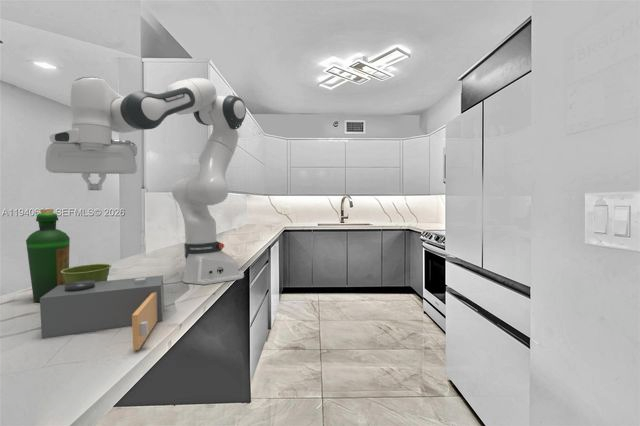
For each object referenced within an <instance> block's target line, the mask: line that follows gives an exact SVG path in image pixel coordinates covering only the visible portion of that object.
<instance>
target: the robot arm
mask: <svg viewBox="0 0 640 426" xmlns="http://www.w3.org/2000/svg"><path fill="white" fill-rule="evenodd" d="M70 88H71V90H70V111H71V113H72V117H73V118H72V123H71V129H66V130H62V131H58V132H54V133H51V134H49V141H50V142H51V144H49V145H48V146H47V147H46V152H45V170H47V171H48V172H49V173H52V174H81V176H82V179H83V181H85V183H86V184H87V191H102V190H103V183H104V182H105V180H106V179H107V175H109V174H111V175H114V174H115V175H116V174H117V175H118V174H119V175H134V174H136V173H137V172H138V168H137V167H138V165H137V161H136V157H137V154H138V147H137V145H136V144H135V143H134V142H132V141H131V140H119V139H113V132H116V133H120V134H124V133H125V134H126V133H133V132H136V131H143V130H144V131H145V130H154V129H155V128H157V127H158V126H160V125H161V124H162V122H163V121H164V120H165V119H166V118H167V117H169V116H171V115H173V114H177V115H188V114H189V115H190V114H193V117H194V118H195V120H196V122H198V123H199V124H200V125H204V126H212V133H211V134H210V136H209V137H208V139H207V141H206V142H205V145H204V146H203V148H202V151H201V153H200V154H199V156H198V163H199V165H200V168H199V172H198V174H197V175H196V176H189V177H188V176H187V177H184V178H182V179H180V180H177V181H176V182H175V183H174V184H173V186H172V189H171V194H172V197H173V199H174V200H175V201H176V202H177V204H178V205H179V208H180V211H181V214H182V218H183V221H184V234H185V235H184V238H185V243H184V246H183V251H184V254H183V255H184V258H185V263H184V271H183V276H182V280H181V281H182V282H183V283H186V284H195V285H210V284H216V283H217V284H218V283H222V282H229V281H234V280H235V281H236V280H241V279H243V278H244V277H245V273H244V272H243V271H242V270H239V268H238V266H239V265H238V263H237V261H236V259H235V258H233V257H232V256H230V255H229V254H227V253H226V252H225V251H223V249H224V248H225V244H224V243H223V242H221V241H217V222H216V220H215V218H214V217H213V216H212V215H211V213H210V211H209V206H215V205H218V204H221V203H223V202H224V201H225V200H227V198H228V196H229V186H228V184H227V182H226V173H227V170H228V167H229V165H230V162H231V160H232V158H233V156H234V154H235V151H236V149H237V145H238V143H239V132H238V129H239V128H241V126H242V123H243V122H244V120H245V117H246V115H247V107H246V105H245V102H244V101H243V99H242V98H241V97H239V96H236V95H232V94H231V95H218V94H217V89H216V86H215V84H214V83H213V82H211V81H210V79H207V78H206V77H205V78H203V77H190V78H185V79H181V80H178V81H175V82H172V83H171V84H169V85H167V86H166V87H165V91H164V92H161V93H153V92H149V91H143V90H138V91H134V92H132V93H130V94H127V95H124V96H123V95H122V94H119V93H118V92H116V91H115V90H114V89H113V88H112V87H111V86H110V85H109V84H108V82H107V81H106V80H105V79H103V78H100V77H97V76H82V77H80V78H79V77H78V78H77V79H75V80H73V82H72V84H71V87H70ZM91 174H98V178H100V179H99V181H98V182H97V183H92V182H91V180H90V179H89V178H91Z"/></svg>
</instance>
